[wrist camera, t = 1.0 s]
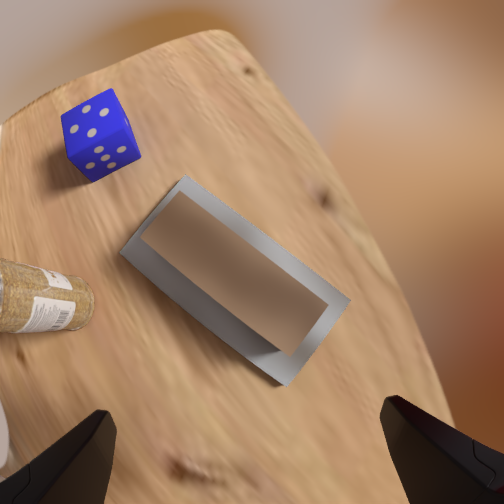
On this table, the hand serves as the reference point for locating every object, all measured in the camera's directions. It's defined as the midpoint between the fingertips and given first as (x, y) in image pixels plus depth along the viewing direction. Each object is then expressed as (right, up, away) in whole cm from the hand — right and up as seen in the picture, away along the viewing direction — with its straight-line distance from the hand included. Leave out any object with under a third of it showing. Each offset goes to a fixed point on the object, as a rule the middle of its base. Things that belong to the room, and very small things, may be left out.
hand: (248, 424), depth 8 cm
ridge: (-1, +3, +15) cm, 15 cm away
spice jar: (-15, +1, +14) cm, 20 cm away
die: (-13, +15, +17) cm, 25 cm away
